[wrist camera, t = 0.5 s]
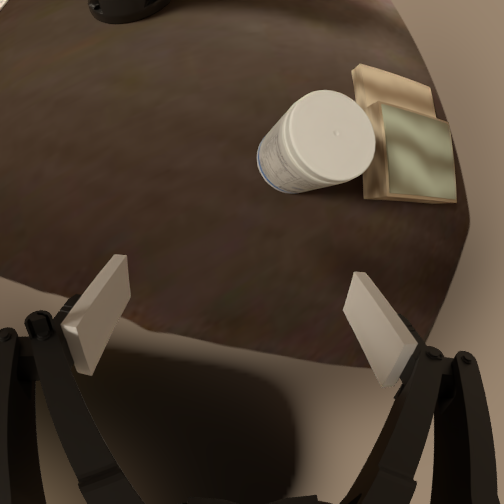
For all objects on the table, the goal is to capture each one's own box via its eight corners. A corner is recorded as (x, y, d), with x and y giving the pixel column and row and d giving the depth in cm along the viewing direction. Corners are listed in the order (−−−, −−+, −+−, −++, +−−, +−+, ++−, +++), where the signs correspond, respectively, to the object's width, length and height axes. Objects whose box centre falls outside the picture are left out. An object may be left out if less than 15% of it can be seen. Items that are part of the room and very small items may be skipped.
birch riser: (351, 71, 40) (370, 55, 34) (420, 91, 43) (441, 81, 37) (363, 198, 42) (388, 196, 36) (433, 203, 45) (457, 202, 39)
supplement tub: (299, 119, 39) (348, 77, 25) (331, 176, 41) (393, 158, 26) (241, 146, 38) (269, 106, 23) (275, 207, 40) (321, 199, 25)
